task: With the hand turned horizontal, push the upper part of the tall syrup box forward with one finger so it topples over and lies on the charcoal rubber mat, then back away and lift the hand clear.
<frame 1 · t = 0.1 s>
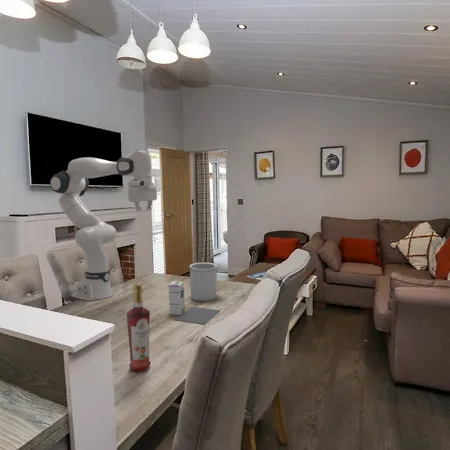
hand: (143, 210, 178), 48 cm above the table, tool pointing down, fingers open, 8 cm apart
liquor: (140, 368, 116), on the table
utensil holder: (203, 297, 191), on the table
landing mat: (197, 315, 163), on the table
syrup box: (177, 312, 167), on the table
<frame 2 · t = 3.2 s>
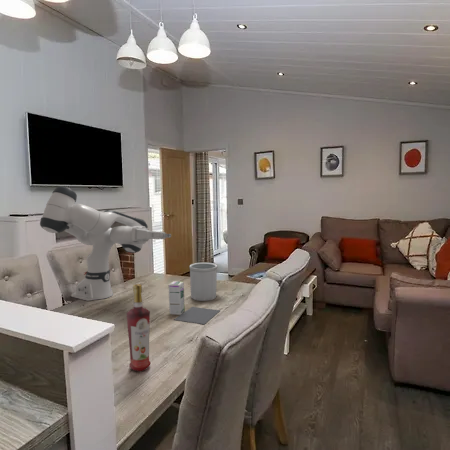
hand: (166, 235, 170), 36 cm above the table, tool horizontal, fingers open, 8 cm apart
nothing on the table moved.
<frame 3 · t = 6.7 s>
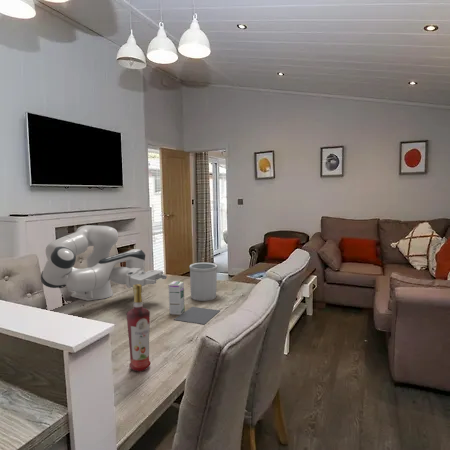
hand: (160, 279, 171), 15 cm above the table, tool horizontal, fingers open, 8 cm apart
nothing on the table moved.
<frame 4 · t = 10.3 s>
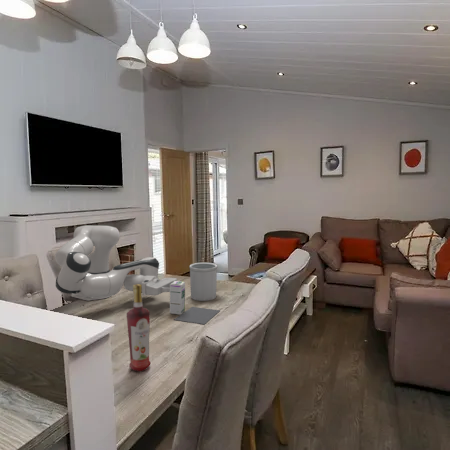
hand: (176, 287, 171), 11 cm above the table, tool horizontal, fingers open, 8 cm apart
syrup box: (177, 312, 167), on the table, touching gripper
everything else where it was.
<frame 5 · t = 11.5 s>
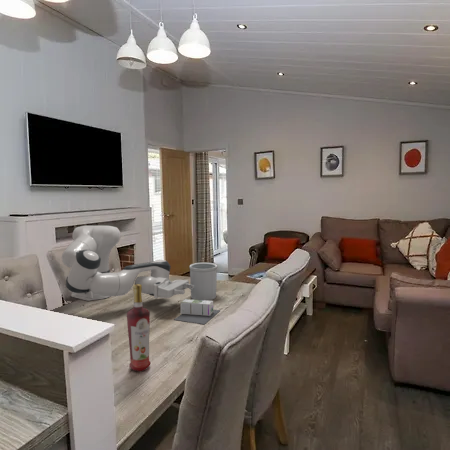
hand: (188, 289, 168), 10 cm above the table, tool horizontal, fingers open, 8 cm apart
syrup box: (181, 306, 166), point 3 cm above the table, touching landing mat
everything else where it was.
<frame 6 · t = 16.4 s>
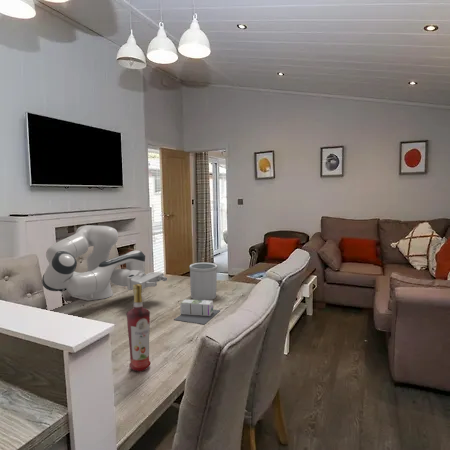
hand: (161, 281, 173), 13 cm above the table, tool horizontal, fingers open, 8 cm apart
nothing on the table moved.
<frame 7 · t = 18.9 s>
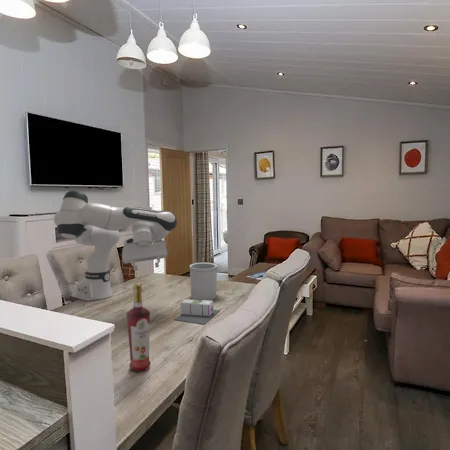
hand: (146, 268, 158), 23 cm above the table, tool tilted 40°, fingers open, 8 cm apart
nothing on the table moved.
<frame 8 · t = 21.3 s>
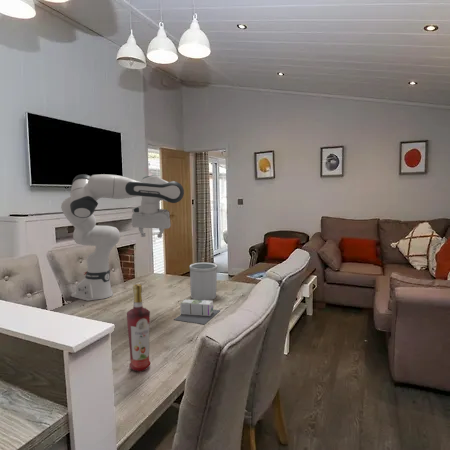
hand: (151, 237, 172), 35 cm above the table, tool pointing down, fingers open, 8 cm apart
nothing on the table moved.
at the end: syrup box tilted 90°; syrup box touching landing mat; the gripper is holding nothing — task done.
